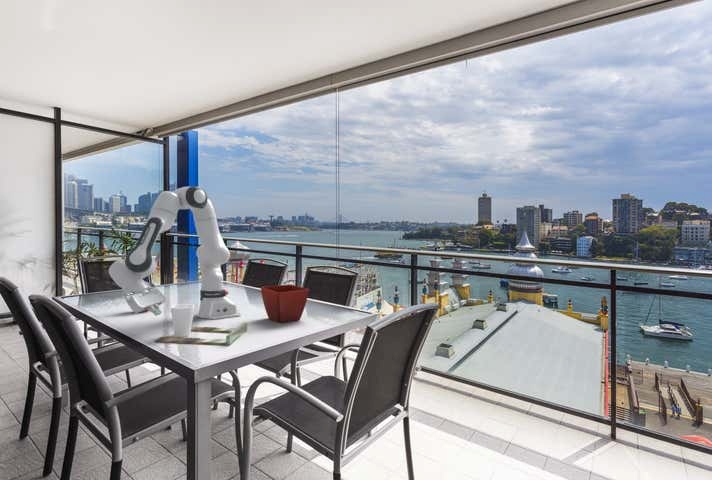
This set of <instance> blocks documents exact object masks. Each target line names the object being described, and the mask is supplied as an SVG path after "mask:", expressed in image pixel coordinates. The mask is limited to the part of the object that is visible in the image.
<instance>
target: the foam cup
mask: <svg viewBox="0 0 712 480" xmlns="http://www.w3.org/2000/svg"><path fill="white" fill-rule="evenodd" d="M170 312H171V318H172V319H171V321H172V326H173V328H172V329H173V334H174V338H188V337H189V336H190V335H191V332H192V331H191V327H193V325H192V324H193V319H194V312H195V304H192V303H180V304H179V303H178V304H173V305H171V306H170Z"/></svg>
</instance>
